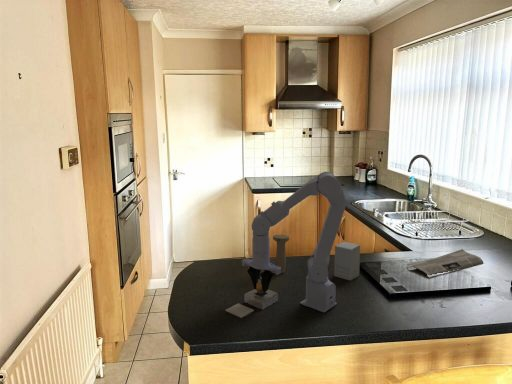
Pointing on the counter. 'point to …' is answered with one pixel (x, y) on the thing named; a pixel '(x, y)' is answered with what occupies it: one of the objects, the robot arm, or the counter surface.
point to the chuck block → (261, 298)
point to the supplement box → (347, 260)
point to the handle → (281, 251)
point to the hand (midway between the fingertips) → (261, 289)
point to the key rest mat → (239, 310)
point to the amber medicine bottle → (259, 287)
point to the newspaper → (447, 262)
